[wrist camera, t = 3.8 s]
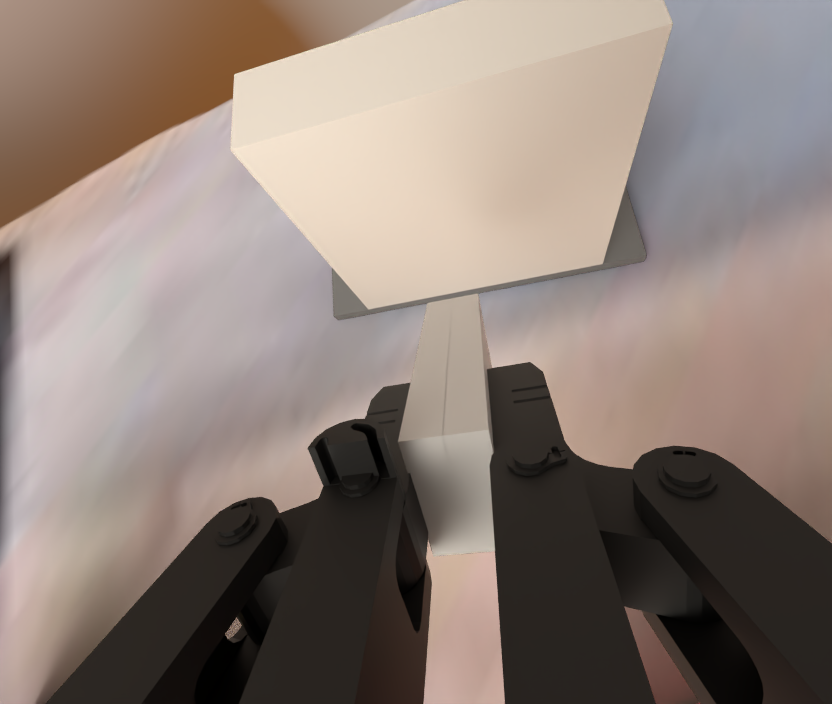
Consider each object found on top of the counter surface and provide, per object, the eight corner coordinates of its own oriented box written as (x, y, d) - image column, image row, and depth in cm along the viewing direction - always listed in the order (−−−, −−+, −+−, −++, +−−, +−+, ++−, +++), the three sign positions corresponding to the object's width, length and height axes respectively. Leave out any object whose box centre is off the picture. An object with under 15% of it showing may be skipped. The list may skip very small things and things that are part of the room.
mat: (578, 42, 27) (579, 33, 27) (643, 261, 22) (646, 255, 22) (329, 114, 30) (326, 107, 30) (338, 320, 25) (333, 316, 25)
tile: (587, 207, 23) (637, -64, 12) (602, 264, 22) (672, 23, 11) (365, 256, 25) (234, 67, 14) (368, 309, 24) (230, 149, 13)
